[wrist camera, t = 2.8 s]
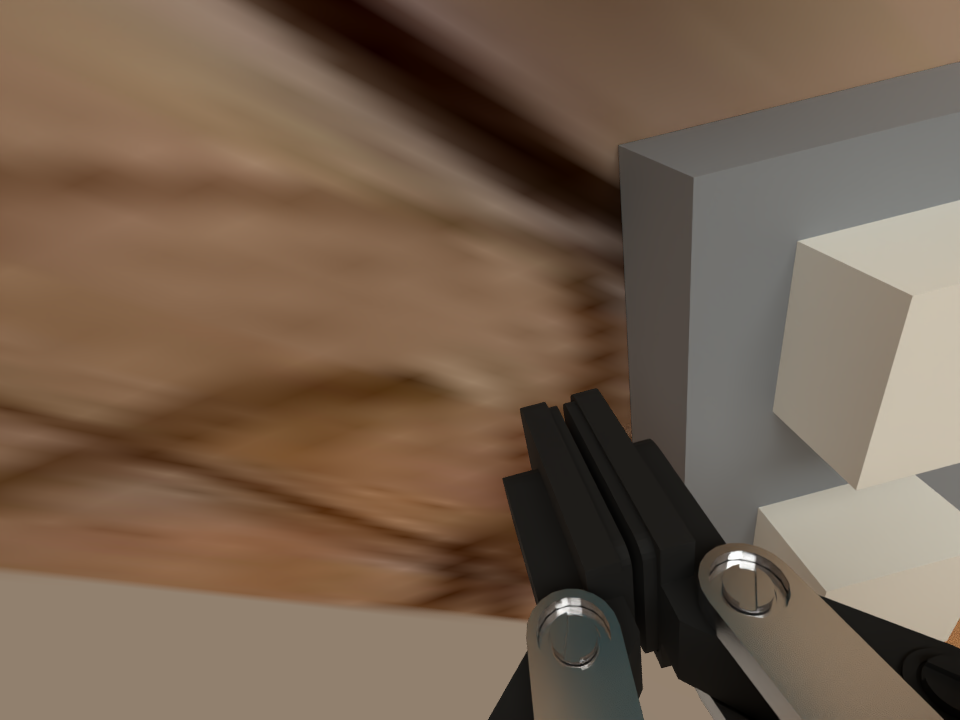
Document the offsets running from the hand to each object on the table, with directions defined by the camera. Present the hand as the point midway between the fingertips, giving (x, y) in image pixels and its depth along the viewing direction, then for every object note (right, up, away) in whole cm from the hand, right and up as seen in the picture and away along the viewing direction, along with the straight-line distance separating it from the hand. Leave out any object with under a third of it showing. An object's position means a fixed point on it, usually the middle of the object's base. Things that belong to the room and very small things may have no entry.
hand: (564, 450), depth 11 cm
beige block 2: (+10, -4, +7) cm, 13 cm away
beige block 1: (+8, +3, +2) cm, 9 cm away
